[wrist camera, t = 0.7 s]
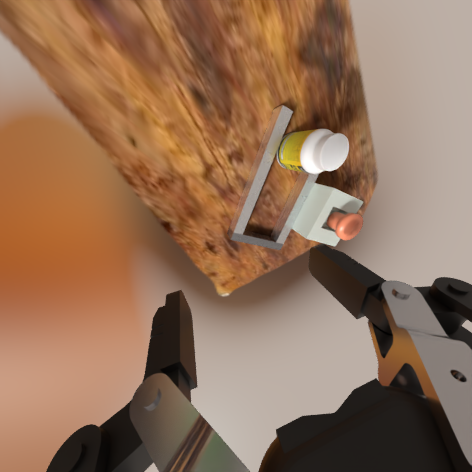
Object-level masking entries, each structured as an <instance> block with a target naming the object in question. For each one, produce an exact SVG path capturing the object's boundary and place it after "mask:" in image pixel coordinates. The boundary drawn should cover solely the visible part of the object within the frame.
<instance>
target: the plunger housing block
mask: <svg viewBox="0 0 472 472" xmlns="http://www.w3.org/2000/svg"><path fill="white" fill-rule="evenodd" d="M362 203H363V201H361V200H359V199H356V198H354V197H352V196H350V195H348V194H346V193H344V192H342V191H340V190H337V189H335V188H332V187H328V186H324V185H320V184H316V183H314V185H313V187H312V189H311V191H310V193H309V195H308V197H307V199H306V200H305V202H304V204H303V206H302V208H301V210H300V212H299V214H298V216H297V218H296V220H295V222H294V224H293V226H292V229H293V230H295V231H296V232H298V233H299V234H301V235H302V236H303V237H305V238H306V239H310V240H313V241H317V242H321V243H325V244H328V245H332V246H336V244H337V243H338V241H339V240H340V238H339V237H338V236H337V235H336V233H335V230H334V229H332V228H330V227H328V226H327V219H328V217H329V216H330V215H331V214H332V213H334V212H339V213H342V214H344V215H346V214H348V213H355V214H356V213H357V211H358V210H359V208H360V206H361V205H362Z"/></svg>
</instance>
